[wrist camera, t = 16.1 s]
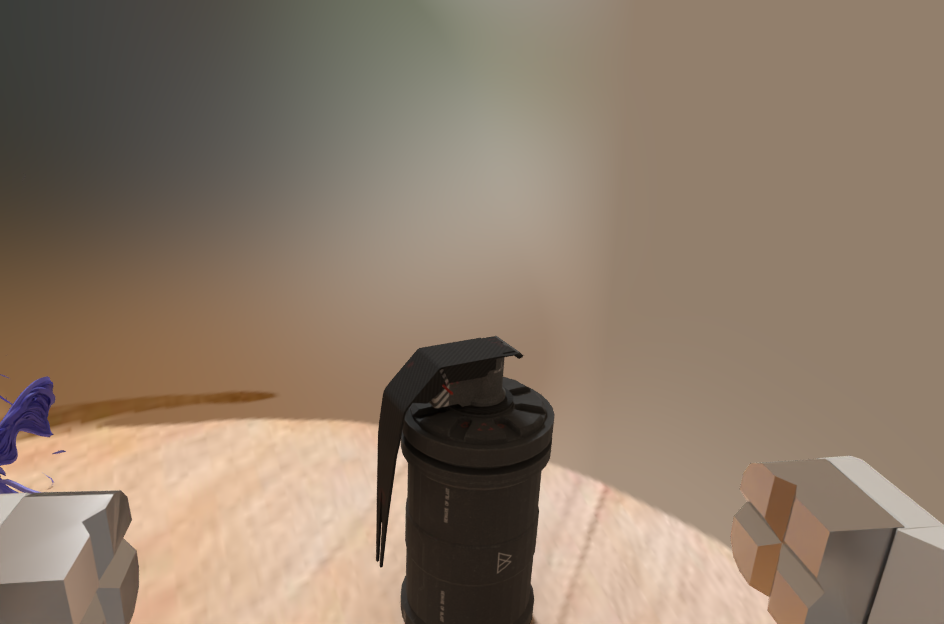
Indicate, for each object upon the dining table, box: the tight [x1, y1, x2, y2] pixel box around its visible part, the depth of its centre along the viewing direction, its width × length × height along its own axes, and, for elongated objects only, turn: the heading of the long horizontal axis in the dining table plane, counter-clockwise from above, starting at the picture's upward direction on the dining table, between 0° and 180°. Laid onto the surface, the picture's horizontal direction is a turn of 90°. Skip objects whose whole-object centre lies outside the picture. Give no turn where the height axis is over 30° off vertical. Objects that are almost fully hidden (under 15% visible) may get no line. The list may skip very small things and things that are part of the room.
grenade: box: [376, 336, 554, 624], centre depth 43 cm, size 9×11×20 cm
